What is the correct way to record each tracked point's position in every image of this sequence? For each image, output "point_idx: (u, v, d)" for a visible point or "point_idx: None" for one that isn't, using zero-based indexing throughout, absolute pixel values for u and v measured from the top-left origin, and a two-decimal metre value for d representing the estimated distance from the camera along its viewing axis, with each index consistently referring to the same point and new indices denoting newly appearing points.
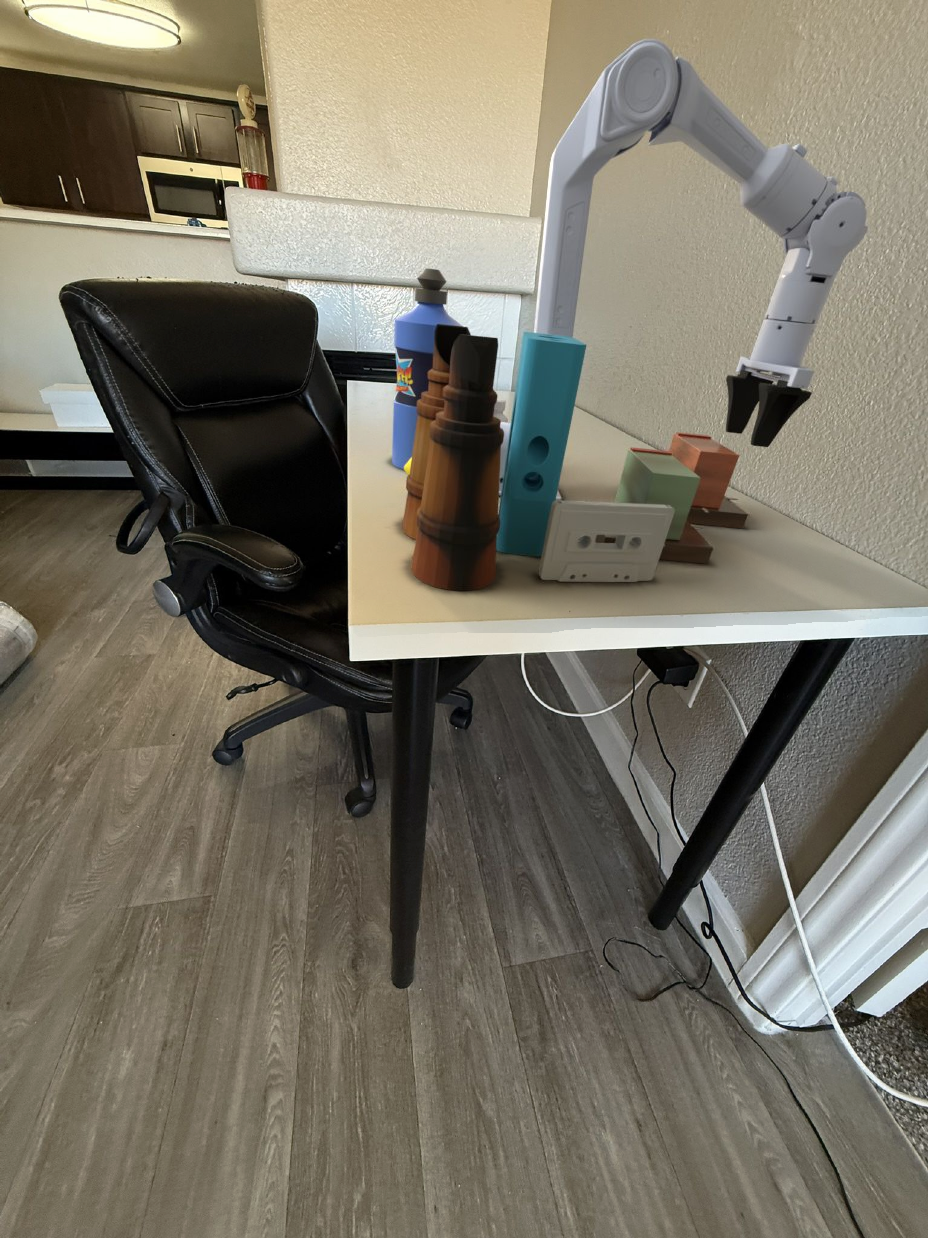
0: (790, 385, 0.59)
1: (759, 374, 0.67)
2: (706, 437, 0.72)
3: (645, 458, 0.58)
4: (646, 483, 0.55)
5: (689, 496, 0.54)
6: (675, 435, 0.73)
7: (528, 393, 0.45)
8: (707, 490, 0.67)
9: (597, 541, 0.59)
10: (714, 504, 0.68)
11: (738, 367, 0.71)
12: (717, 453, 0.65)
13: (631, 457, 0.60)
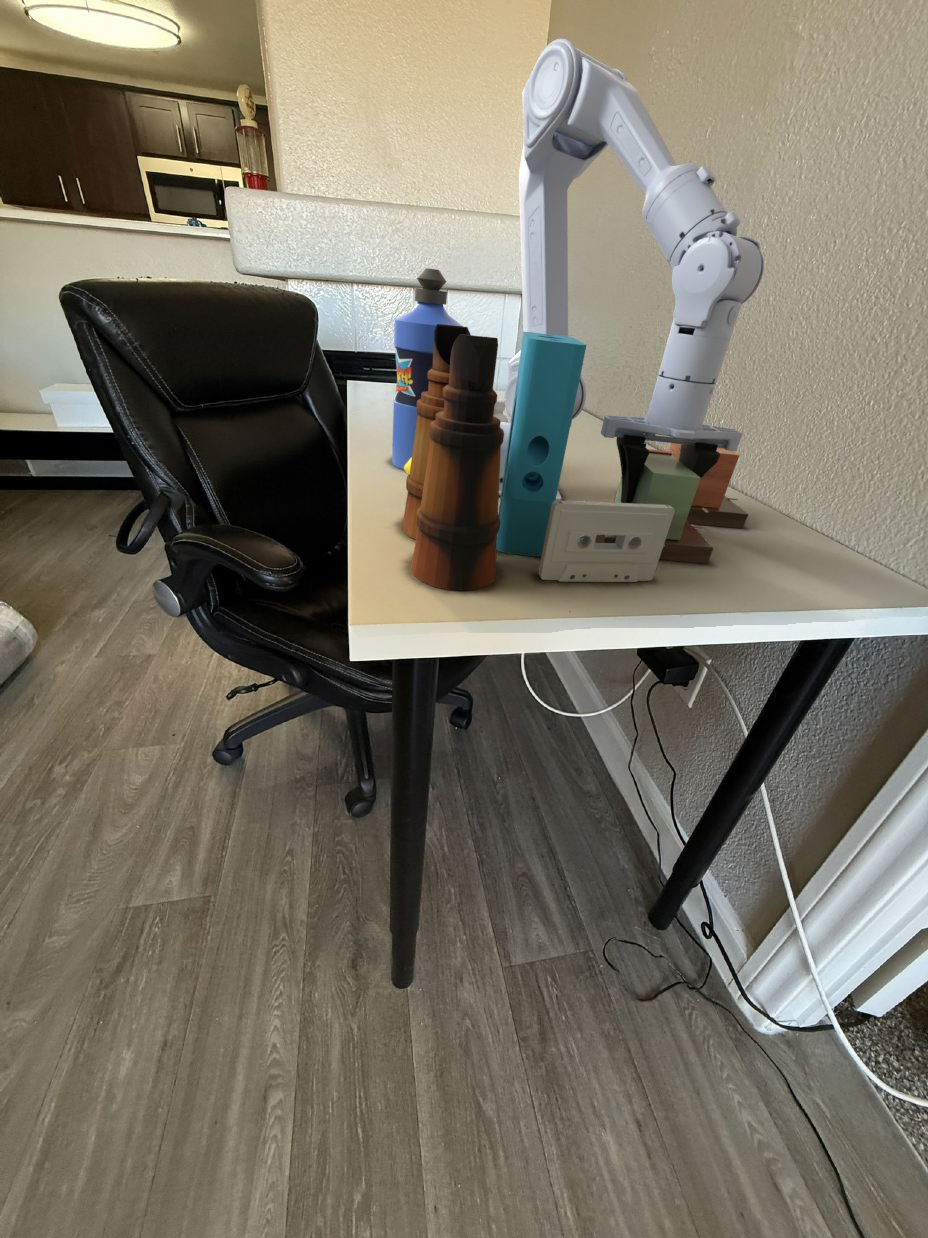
0: None
1: None
2: None
3: None
4: (646, 483, 0.55)
5: (689, 496, 0.54)
6: None
7: (527, 393, 0.45)
8: (707, 490, 0.67)
9: (597, 541, 0.59)
10: (714, 504, 0.68)
11: None
12: None
13: None
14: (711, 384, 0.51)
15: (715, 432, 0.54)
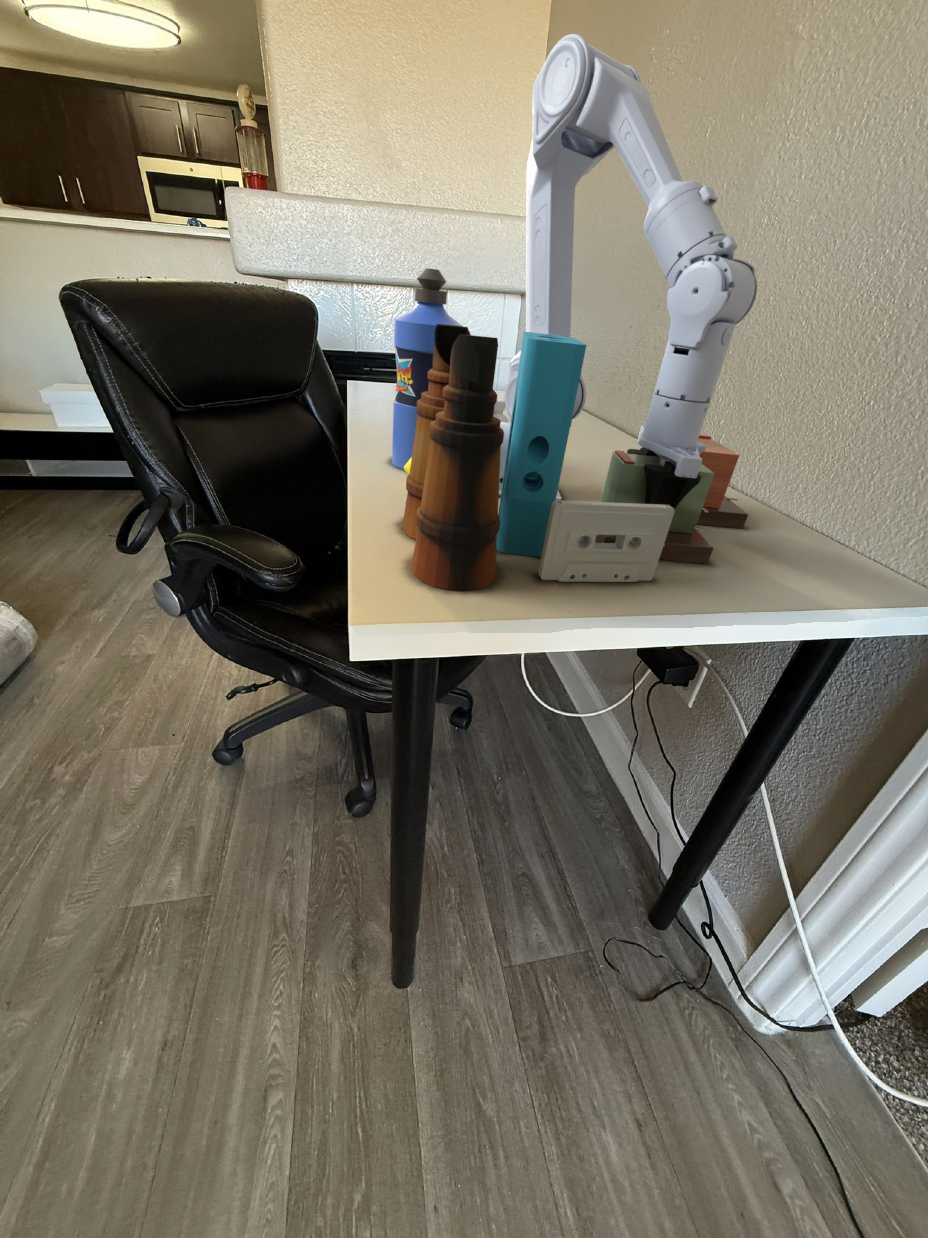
0: (676, 474, 0.51)
1: None
2: (706, 437, 0.72)
3: None
4: (700, 485, 0.56)
5: None
6: None
7: (528, 393, 0.45)
8: None
9: (597, 541, 0.59)
10: (714, 504, 0.68)
11: (639, 437, 0.63)
12: (717, 453, 0.65)
13: (640, 470, 0.56)
14: None
15: None
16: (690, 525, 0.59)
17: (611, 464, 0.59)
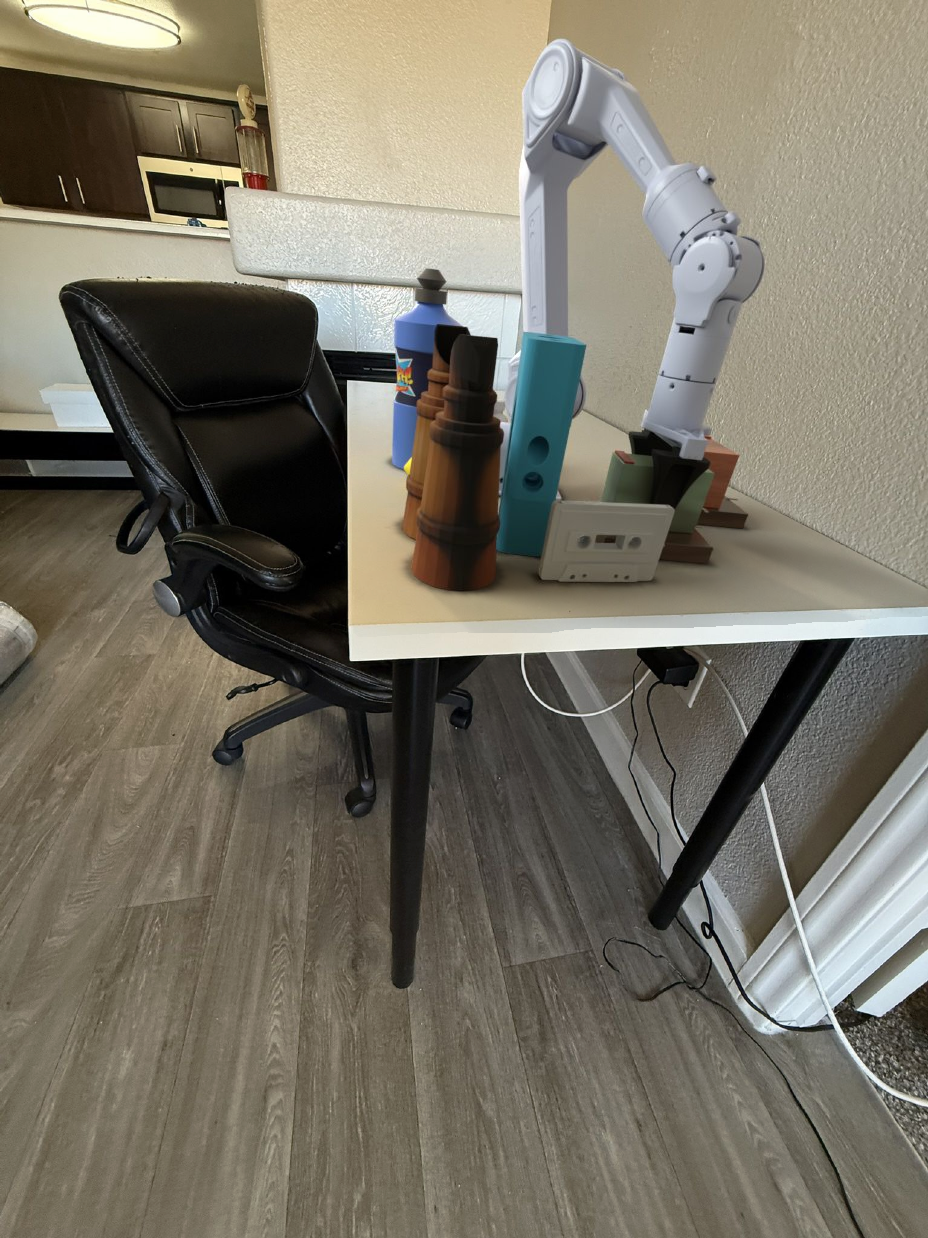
0: (681, 456, 0.50)
1: None
2: (706, 437, 0.72)
3: None
4: (700, 485, 0.56)
5: None
6: None
7: (527, 393, 0.45)
8: None
9: (597, 541, 0.59)
10: (714, 504, 0.68)
11: (642, 422, 0.62)
12: (717, 453, 0.65)
13: (640, 470, 0.56)
14: None
15: None
16: (690, 525, 0.59)
17: (611, 464, 0.59)
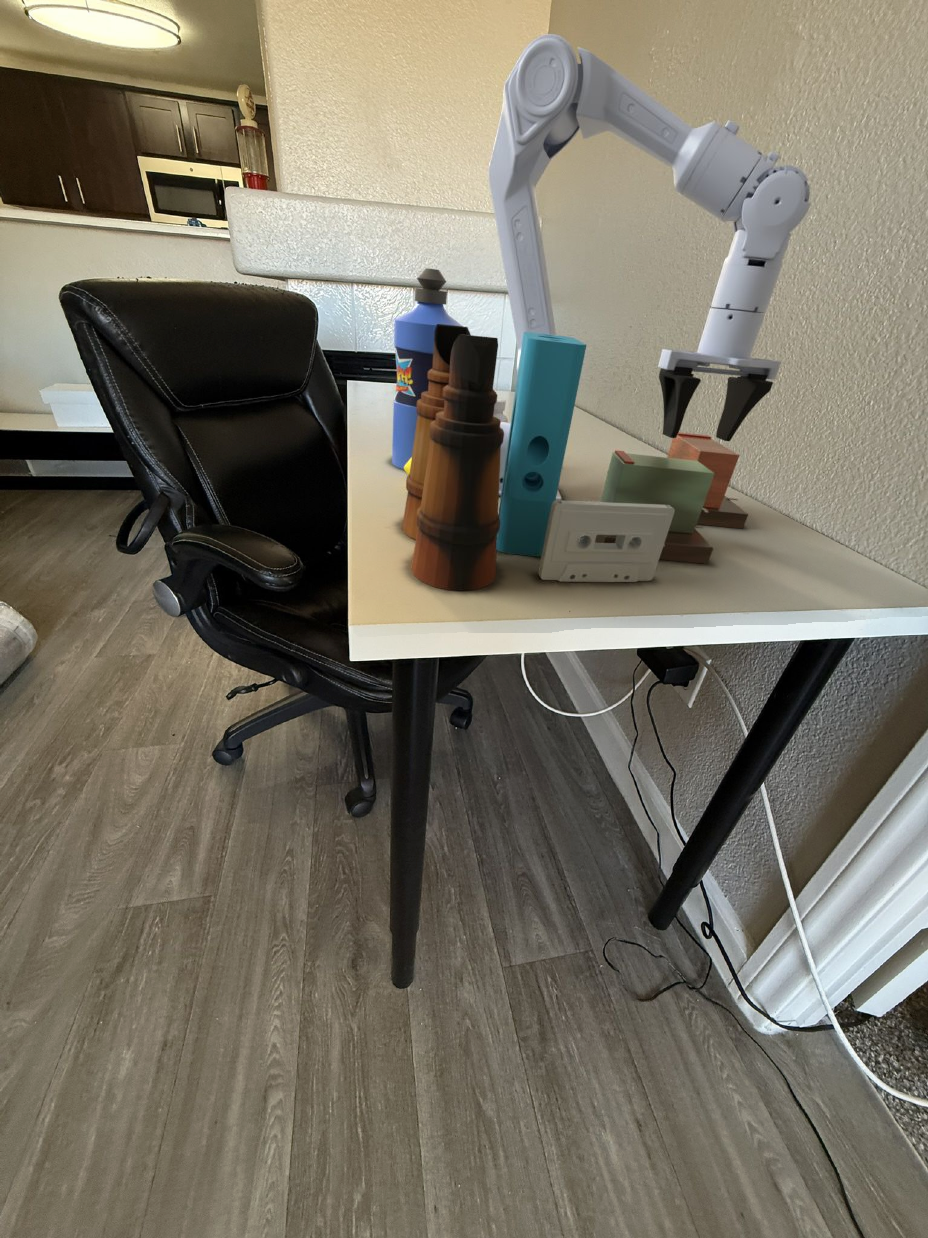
0: None
1: None
2: (706, 437, 0.72)
3: (659, 465, 0.56)
4: (700, 485, 0.56)
5: None
6: None
7: (527, 393, 0.45)
8: None
9: (597, 541, 0.59)
10: (714, 504, 0.68)
11: None
12: (717, 453, 0.65)
13: (640, 470, 0.56)
14: (763, 314, 0.56)
15: (762, 361, 0.59)
16: (690, 525, 0.59)
17: (611, 464, 0.59)
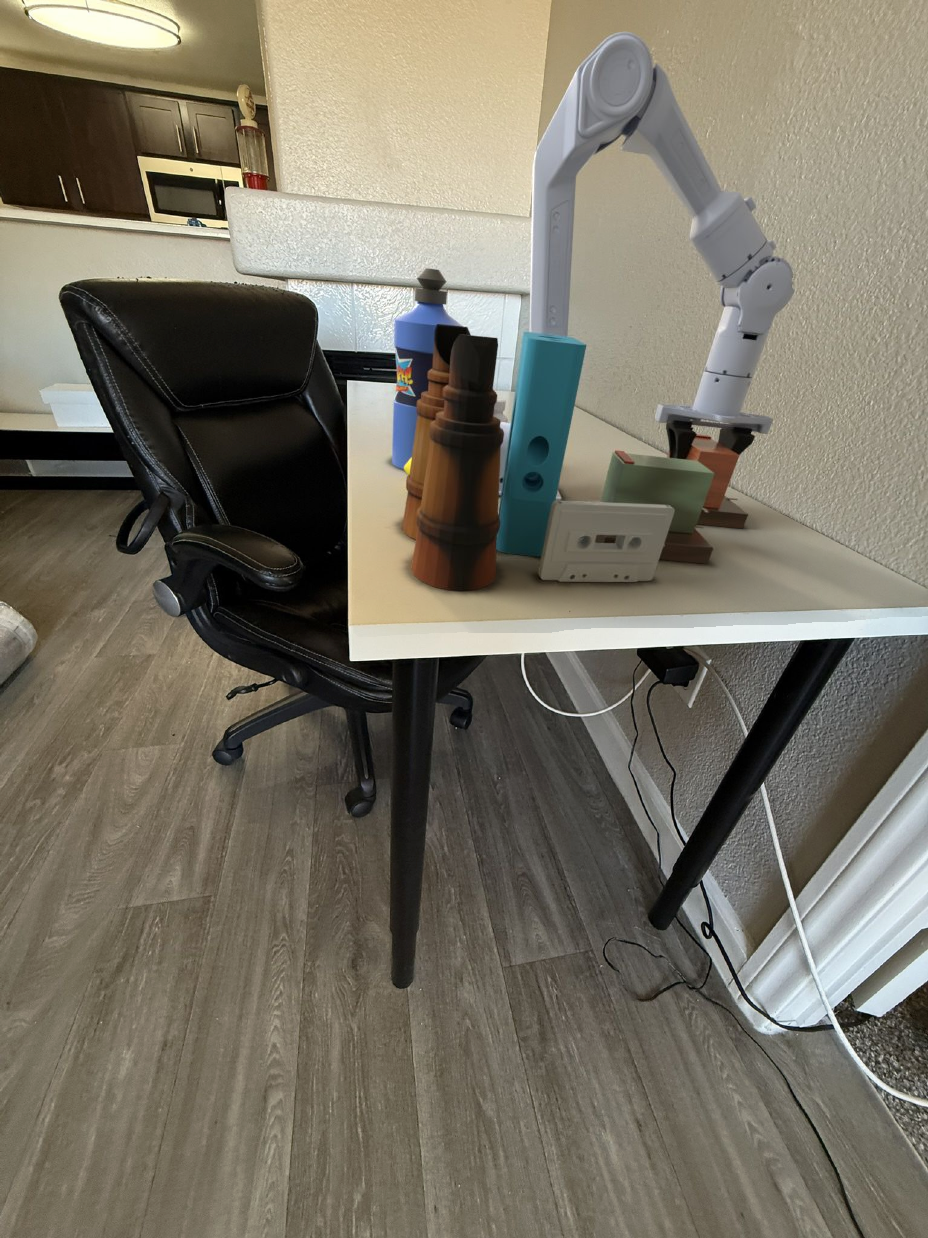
0: (655, 418, 0.68)
1: None
2: (706, 437, 0.72)
3: (659, 465, 0.56)
4: (700, 485, 0.56)
5: None
6: None
7: (527, 393, 0.45)
8: None
9: (597, 541, 0.59)
10: (714, 504, 0.68)
11: None
12: (717, 453, 0.65)
13: (640, 470, 0.56)
14: (749, 378, 0.63)
15: (751, 418, 0.66)
16: (690, 525, 0.59)
17: (611, 464, 0.59)
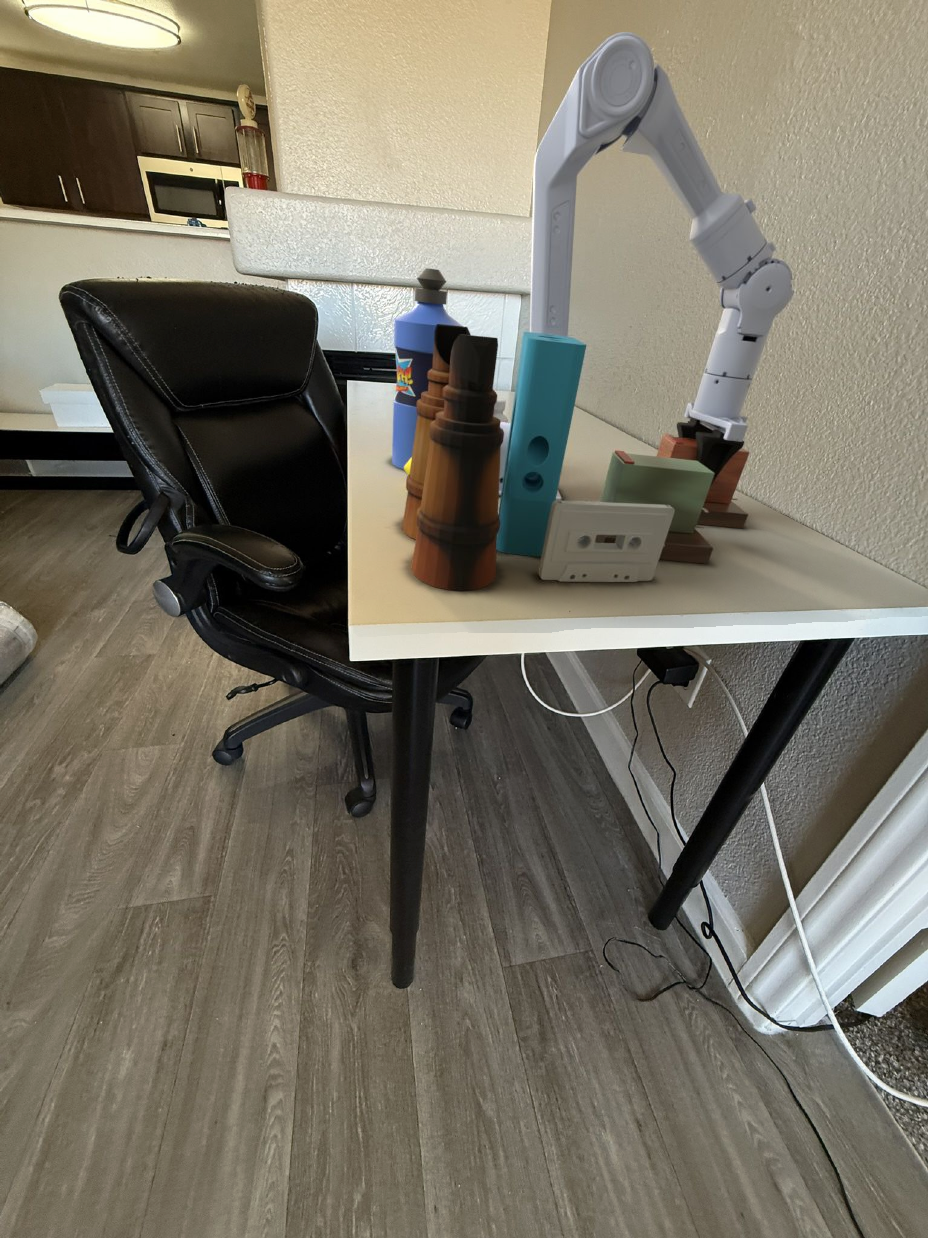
0: (725, 438, 0.62)
1: (703, 422, 0.69)
2: None
3: (659, 465, 0.56)
4: (700, 485, 0.56)
5: None
6: (679, 445, 0.67)
7: (527, 393, 0.45)
8: None
9: (597, 541, 0.59)
10: None
11: (686, 413, 0.73)
12: (741, 448, 0.69)
13: (640, 470, 0.56)
14: None
15: None
16: (690, 525, 0.59)
17: (611, 464, 0.59)
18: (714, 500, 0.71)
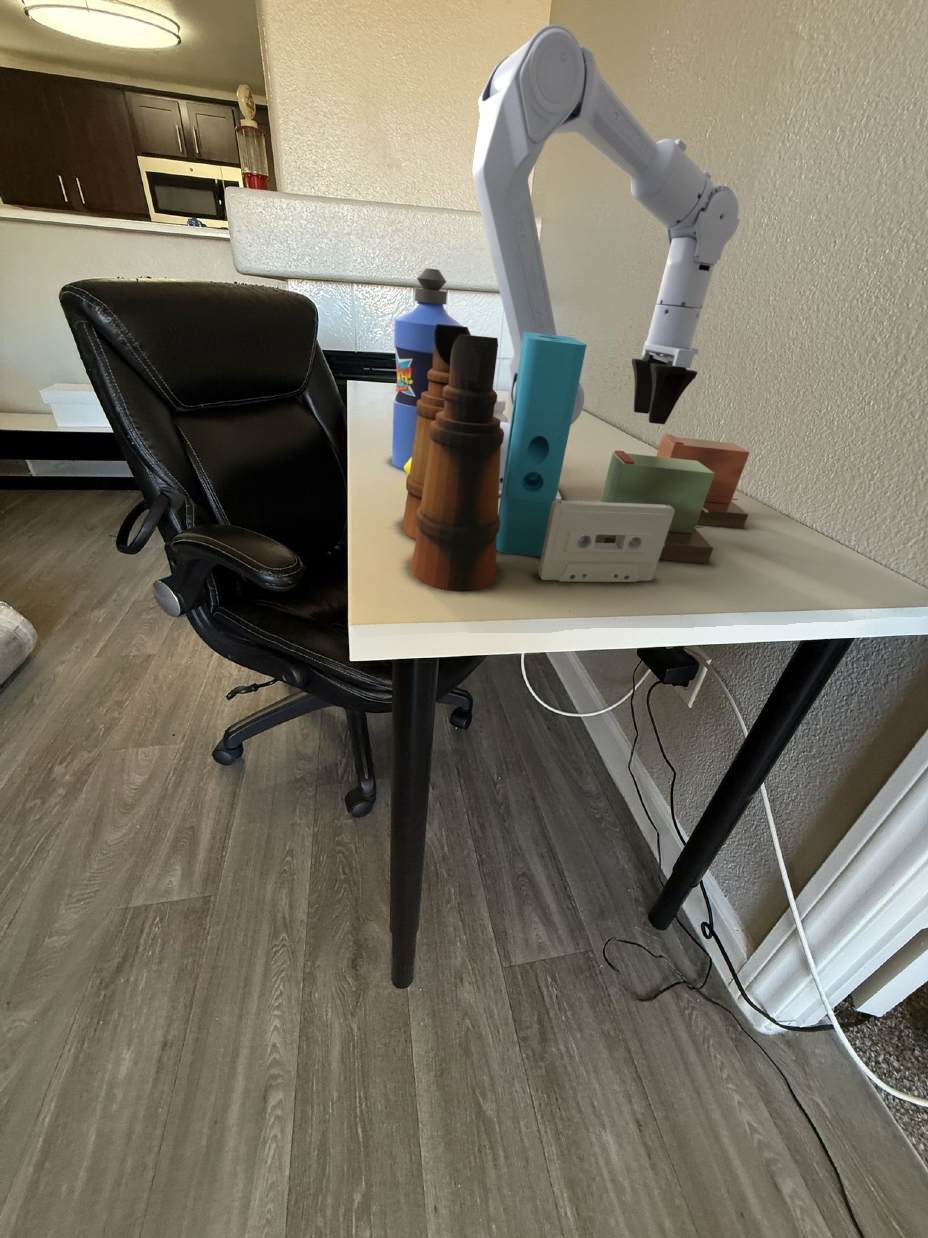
0: (674, 364, 0.64)
1: (657, 356, 0.72)
2: None
3: (659, 465, 0.56)
4: (700, 485, 0.56)
5: None
6: (679, 445, 0.67)
7: (527, 393, 0.45)
8: None
9: (597, 541, 0.59)
10: None
11: (643, 351, 0.76)
12: (741, 448, 0.69)
13: (640, 470, 0.56)
14: None
15: None
16: (690, 525, 0.59)
17: (611, 464, 0.59)
18: (714, 500, 0.71)
